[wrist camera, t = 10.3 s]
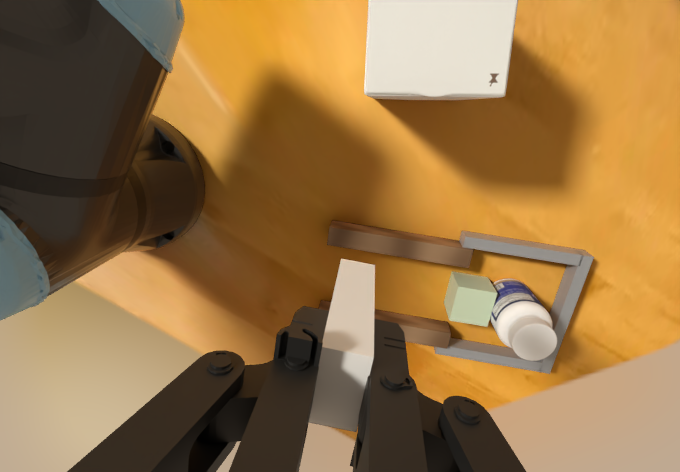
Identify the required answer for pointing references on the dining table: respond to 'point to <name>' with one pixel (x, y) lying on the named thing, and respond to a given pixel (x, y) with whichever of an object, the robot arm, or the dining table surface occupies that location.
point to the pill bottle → (522, 321)
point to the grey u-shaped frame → (559, 312)
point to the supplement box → (438, 49)
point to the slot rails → (404, 247)
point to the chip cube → (469, 299)
